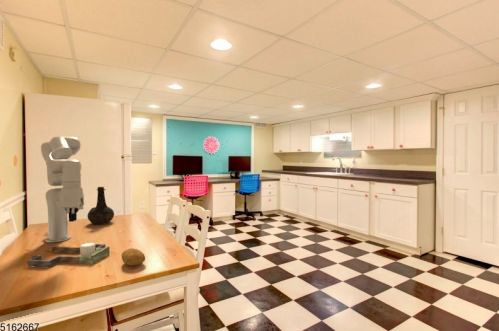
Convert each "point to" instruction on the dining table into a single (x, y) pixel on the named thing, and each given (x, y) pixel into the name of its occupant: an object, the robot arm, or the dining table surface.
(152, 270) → the dining table surface
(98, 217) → the glass bottle
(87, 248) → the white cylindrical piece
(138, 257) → the potato
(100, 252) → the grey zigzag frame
